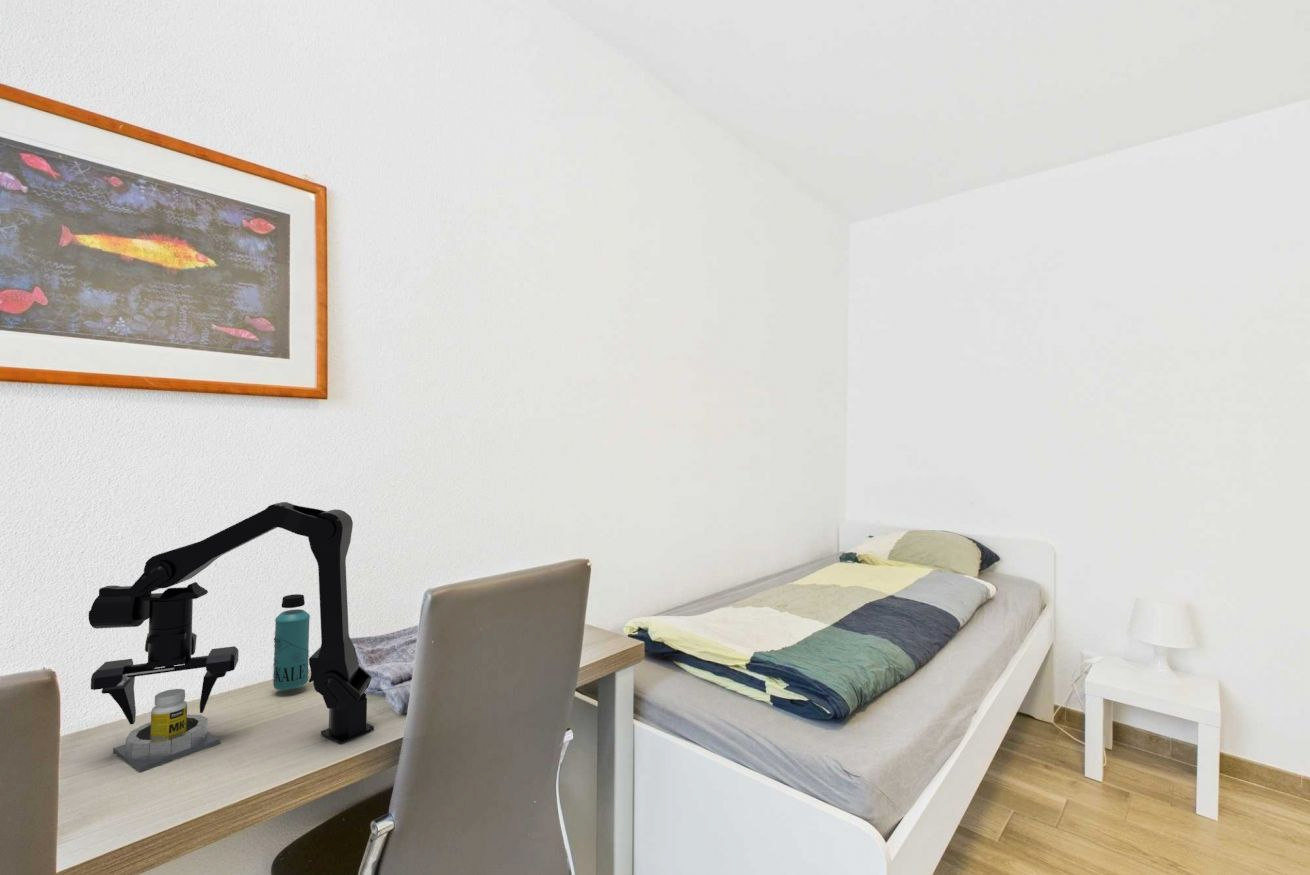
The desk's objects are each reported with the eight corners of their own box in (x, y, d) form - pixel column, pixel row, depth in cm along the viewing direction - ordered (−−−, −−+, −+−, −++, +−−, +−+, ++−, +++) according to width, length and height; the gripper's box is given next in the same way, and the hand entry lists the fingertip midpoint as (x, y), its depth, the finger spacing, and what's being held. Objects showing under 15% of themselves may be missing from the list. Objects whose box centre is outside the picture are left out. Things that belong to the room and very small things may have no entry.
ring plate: (220, 743, 102) (220, 723, 102) (139, 772, 93) (140, 751, 93) (191, 727, 108) (192, 708, 108) (113, 753, 98) (113, 732, 99)
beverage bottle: (294, 683, 128) (296, 590, 129) (316, 688, 126) (318, 593, 126) (264, 694, 122) (267, 597, 123) (286, 700, 120) (289, 600, 120)
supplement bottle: (170, 750, 98) (171, 699, 98) (142, 750, 98) (143, 698, 98) (193, 736, 103) (194, 687, 103) (166, 736, 103) (167, 687, 103)
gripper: (243, 607, 112) (241, 690, 112) (113, 619, 103) (111, 709, 103) (235, 622, 102) (232, 713, 102) (91, 637, 94) (87, 737, 93)
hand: (168, 717), depth 100 cm, fingers open, 9 cm apart
